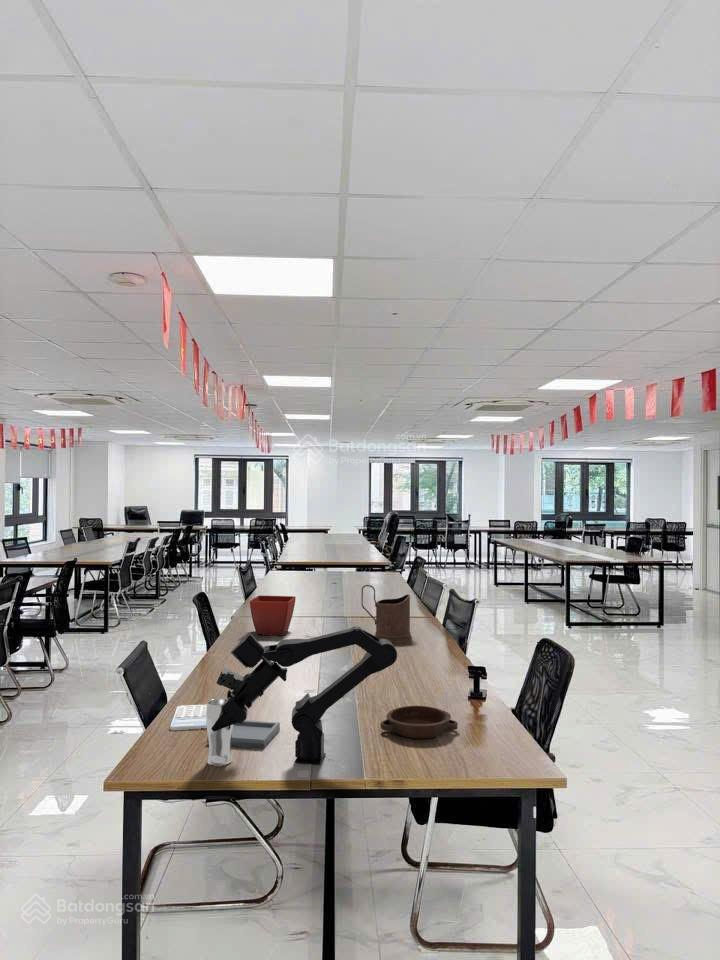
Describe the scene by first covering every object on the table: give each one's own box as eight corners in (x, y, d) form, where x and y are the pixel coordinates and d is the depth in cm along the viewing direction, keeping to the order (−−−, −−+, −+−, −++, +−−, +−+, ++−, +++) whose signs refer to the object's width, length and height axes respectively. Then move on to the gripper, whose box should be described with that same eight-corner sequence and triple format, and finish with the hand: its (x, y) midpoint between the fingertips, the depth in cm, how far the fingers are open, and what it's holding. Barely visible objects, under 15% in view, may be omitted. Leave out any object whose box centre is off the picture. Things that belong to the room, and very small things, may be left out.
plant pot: (296, 629, 343) (296, 595, 343) (288, 637, 324) (288, 601, 324) (258, 628, 345) (258, 595, 345) (248, 636, 326) (248, 601, 326)
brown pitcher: (414, 642, 314) (414, 587, 315) (361, 642, 314) (361, 587, 314) (410, 634, 333) (410, 582, 333) (361, 634, 332) (361, 582, 333)
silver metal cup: (200, 761, 173) (200, 701, 174) (223, 754, 178) (224, 696, 179) (215, 769, 168) (216, 707, 169) (239, 761, 173) (239, 701, 174)
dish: (377, 722, 204) (377, 705, 204) (450, 721, 206) (450, 704, 206) (383, 744, 187) (383, 725, 187) (464, 742, 189) (464, 723, 189)
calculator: (220, 708, 218) (220, 702, 218) (217, 730, 198) (217, 723, 198) (177, 710, 216) (177, 704, 216) (169, 732, 196) (169, 725, 196)
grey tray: (279, 730, 197) (279, 722, 197) (264, 748, 183) (264, 739, 183) (226, 726, 199) (226, 719, 200) (207, 744, 186) (207, 735, 186)
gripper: (239, 650, 184) (197, 692, 182) (232, 667, 165) (185, 715, 164) (269, 679, 184) (227, 721, 183) (265, 700, 165) (218, 747, 164)
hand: (214, 725), depth 174 cm, fingers closed on silver metal cup, 7 cm apart
